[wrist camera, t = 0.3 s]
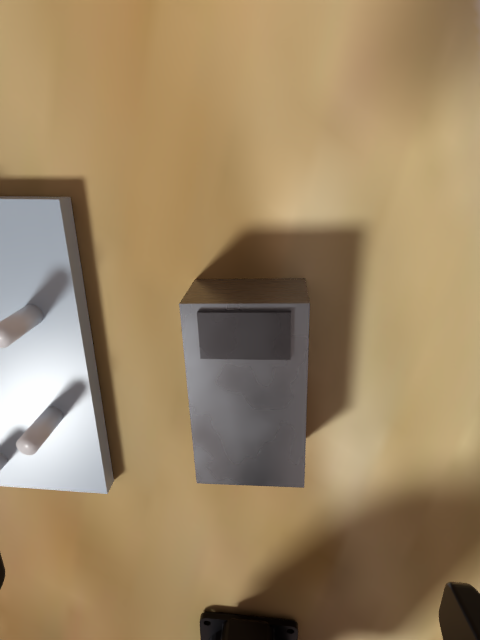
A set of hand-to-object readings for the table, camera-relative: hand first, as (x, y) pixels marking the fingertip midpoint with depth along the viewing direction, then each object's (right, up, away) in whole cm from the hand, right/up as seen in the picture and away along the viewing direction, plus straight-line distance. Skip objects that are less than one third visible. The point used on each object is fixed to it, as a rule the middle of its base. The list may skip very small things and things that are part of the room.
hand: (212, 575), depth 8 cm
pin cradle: (-13, +3, +13) cm, 19 cm away
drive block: (+1, +3, +12) cm, 13 cm away
